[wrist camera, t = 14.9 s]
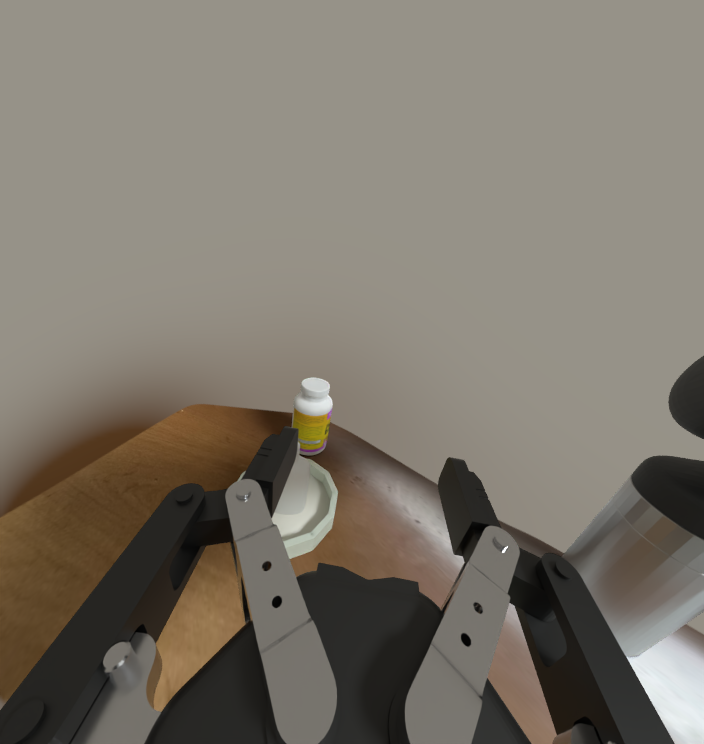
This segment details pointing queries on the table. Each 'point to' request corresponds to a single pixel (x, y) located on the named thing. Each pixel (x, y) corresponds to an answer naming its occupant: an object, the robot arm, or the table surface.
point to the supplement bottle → (312, 415)
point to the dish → (309, 514)
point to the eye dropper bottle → (295, 487)
